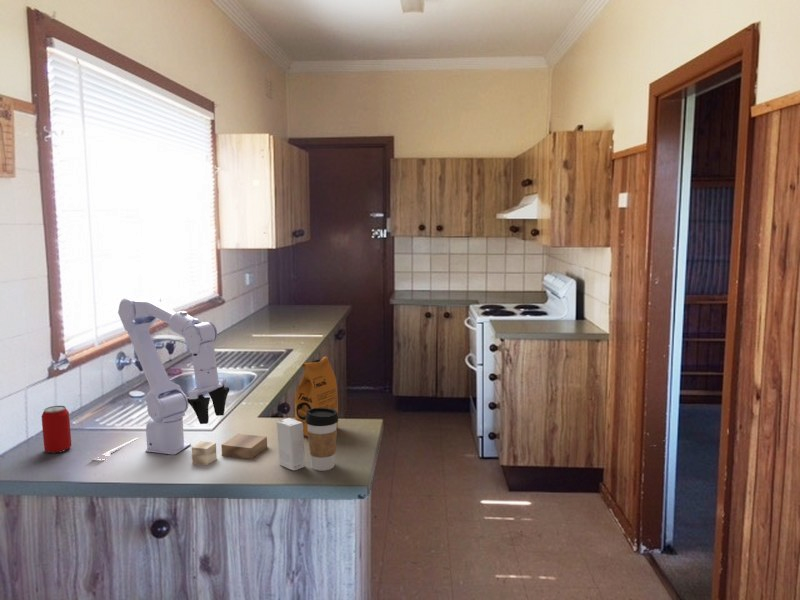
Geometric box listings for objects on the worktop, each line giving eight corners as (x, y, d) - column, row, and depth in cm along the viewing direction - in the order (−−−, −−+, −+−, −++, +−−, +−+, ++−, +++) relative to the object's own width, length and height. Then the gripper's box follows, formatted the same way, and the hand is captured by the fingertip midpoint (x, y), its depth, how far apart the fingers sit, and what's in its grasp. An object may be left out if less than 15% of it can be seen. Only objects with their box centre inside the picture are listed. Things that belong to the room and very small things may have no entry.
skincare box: (306, 466, 168) (304, 422, 166) (292, 471, 164) (290, 426, 163) (291, 460, 172) (290, 416, 170) (277, 465, 169) (276, 420, 167)
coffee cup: (307, 460, 172) (306, 406, 170) (339, 459, 172) (338, 405, 170) (305, 473, 163) (304, 416, 161) (338, 472, 164) (337, 415, 162)
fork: (143, 440, 189) (142, 434, 188) (97, 465, 169) (96, 459, 169) (133, 440, 189) (133, 433, 189) (86, 464, 170) (86, 458, 170)
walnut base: (221, 455, 175) (221, 444, 175) (238, 443, 184) (238, 433, 183) (251, 458, 173) (251, 448, 172) (267, 446, 182) (266, 436, 181)
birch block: (192, 463, 170) (191, 447, 170) (202, 457, 175) (201, 441, 174) (207, 465, 169) (206, 448, 168) (216, 458, 173) (215, 442, 173)
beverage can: (73, 444, 184) (69, 403, 182) (70, 452, 178) (66, 410, 176) (46, 447, 182) (42, 406, 180) (42, 455, 175) (39, 413, 174)
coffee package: (290, 433, 192) (288, 362, 189) (318, 422, 202) (317, 354, 199) (314, 440, 186) (313, 366, 183) (342, 428, 196) (341, 358, 193)
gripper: (203, 373, 160) (210, 427, 161) (233, 362, 174) (239, 411, 175) (178, 375, 162) (186, 427, 163) (210, 363, 176) (217, 412, 177)
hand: (212, 419), depth 169 cm, fingers open, 7 cm apart
